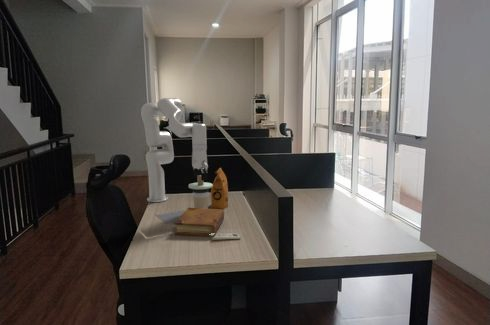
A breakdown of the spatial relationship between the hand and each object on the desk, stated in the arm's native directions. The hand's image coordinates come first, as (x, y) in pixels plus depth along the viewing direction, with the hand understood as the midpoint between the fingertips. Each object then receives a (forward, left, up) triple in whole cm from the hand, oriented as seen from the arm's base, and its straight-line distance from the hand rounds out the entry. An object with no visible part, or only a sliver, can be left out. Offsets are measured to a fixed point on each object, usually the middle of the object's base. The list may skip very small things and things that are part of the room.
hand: (200, 178), depth 200 cm
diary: (+21, -10, -19) cm, 30 cm away
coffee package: (-7, +15, -20) cm, 26 cm away
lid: (0, 0, -4) cm, 4 cm away
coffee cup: (0, 0, -20) cm, 20 cm away
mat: (0, -15, -20) cm, 25 cm away
